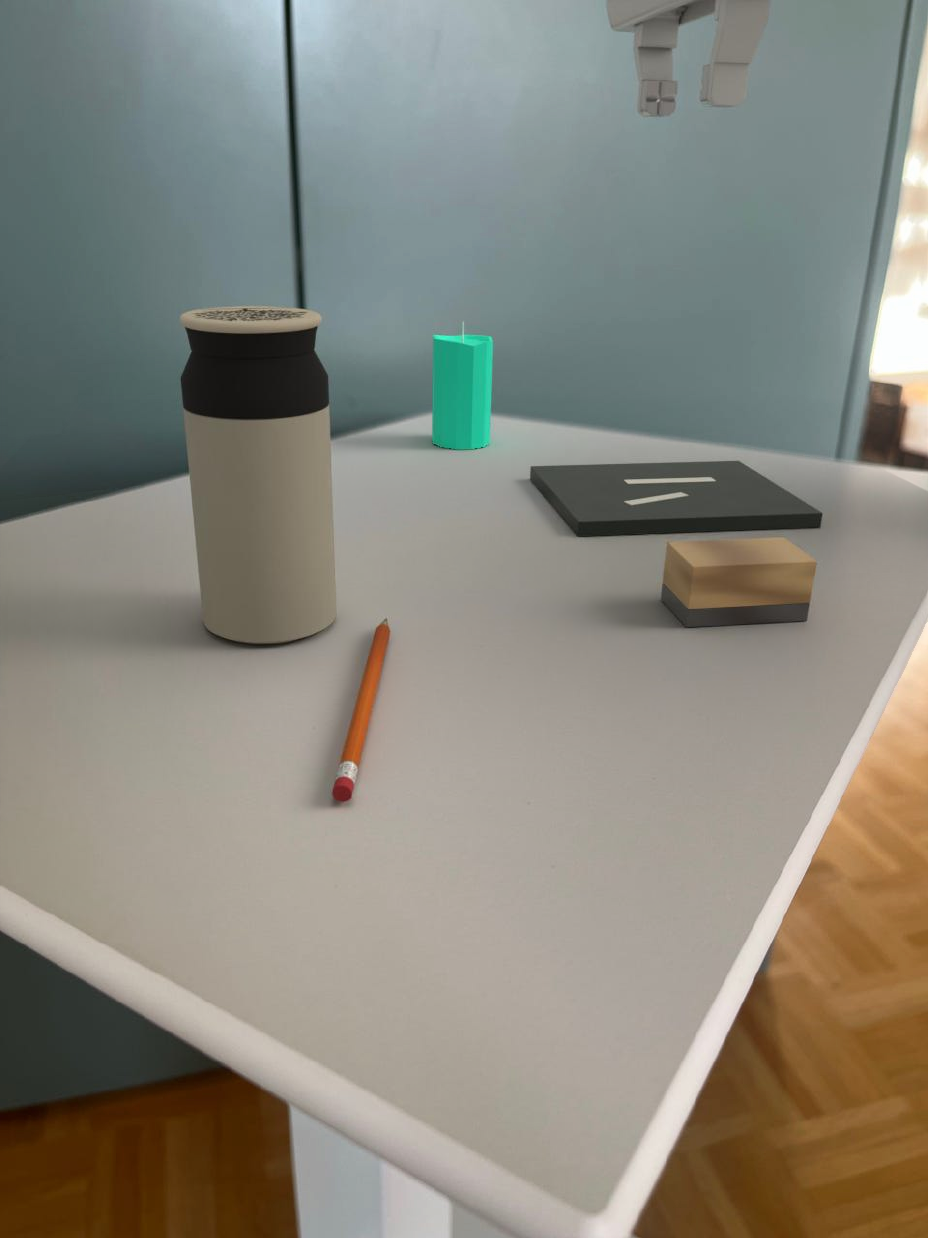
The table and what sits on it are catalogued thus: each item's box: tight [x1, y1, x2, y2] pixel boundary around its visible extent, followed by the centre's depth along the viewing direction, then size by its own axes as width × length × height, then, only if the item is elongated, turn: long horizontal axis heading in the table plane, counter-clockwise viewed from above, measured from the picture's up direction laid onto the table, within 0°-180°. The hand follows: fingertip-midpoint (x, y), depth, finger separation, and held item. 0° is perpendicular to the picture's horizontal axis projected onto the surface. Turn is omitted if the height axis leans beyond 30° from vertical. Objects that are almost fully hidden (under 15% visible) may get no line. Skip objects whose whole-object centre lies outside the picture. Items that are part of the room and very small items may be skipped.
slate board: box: [529, 460, 823, 537], centre depth 85 cm, size 20×16×1 cm
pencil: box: [331, 618, 391, 803], centre depth 52 cm, size 1×19×1 cm, turn 178°
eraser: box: [660, 536, 818, 628], centre depth 63 cm, size 8×4×4 cm, turn 100°
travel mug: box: [179, 305, 337, 645], centre depth 57 cm, size 8×8×18 cm
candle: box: [431, 321, 494, 450], centre depth 100 cm, size 6×6×12 cm
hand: (685, 111), depth 53 cm, fingers open, 8 cm apart
